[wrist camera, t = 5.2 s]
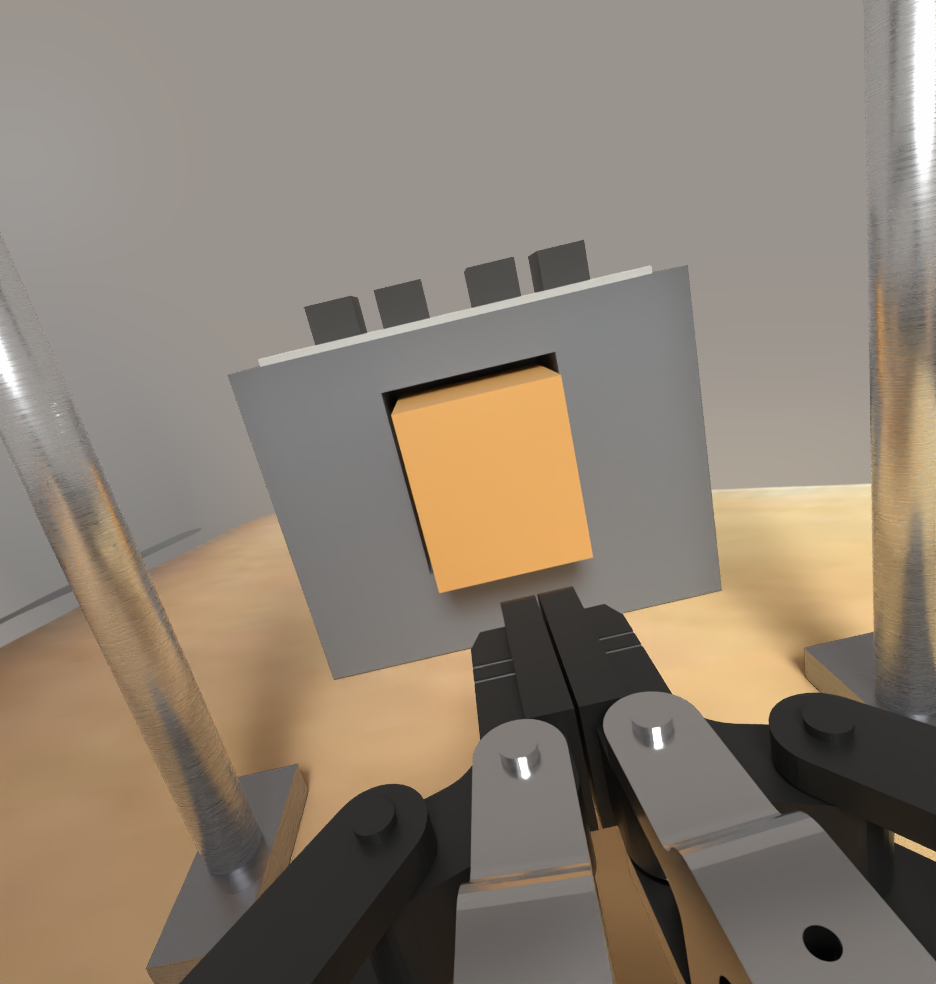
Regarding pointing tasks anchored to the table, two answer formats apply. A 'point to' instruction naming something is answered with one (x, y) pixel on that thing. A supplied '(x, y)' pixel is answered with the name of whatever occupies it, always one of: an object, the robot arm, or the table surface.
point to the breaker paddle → (494, 476)
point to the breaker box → (462, 356)
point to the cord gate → (282, 792)
